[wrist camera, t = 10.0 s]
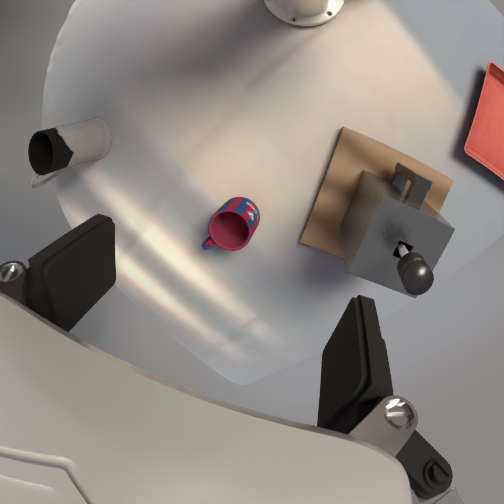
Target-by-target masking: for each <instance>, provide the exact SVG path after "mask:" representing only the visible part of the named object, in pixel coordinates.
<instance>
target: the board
mask: <svg viewBox="0 0 504 504" xmlns="http://www.w3.org/2000/svg"><path fill="white" fill-rule="evenodd" d="M397 162H398V163H400V164H403V165H405V166H407V167H409V168H411V169H412V170H414V171H416V172H417V173H419V174H420V175H422V176H424V177H425V178H427V179H428V180H430V181H431V182H433V183H432V185H431V187H430V190H429V191H428V192H427V194H426V196H425V198H424V201H425V202H427V203H428V204H429V205H430V206H431V207H432V208H433V209H434V210H435V211H436V212H437V213H439V211H440V209H441V207H442V205H443V203H444V201H445V198H446V196H447V194H448V192H449V189H450V187H451V185H452V182H453V180H452V179H450V178H448V177H447V176H445V175H443V174H441V173H440V172H438V171H436V170H434V169H432V168H431V167H429V166H427V165H425V164H423V163H421V162H419V161H417V160H415V159H414V158H412V157H410V156H408V155H406V154H404V153H402V152H400V151H397V150H395V149H393V148H391V147H389V146H387V145H385V144H383V143H380V142H378V141H376V140H374V139H371V138H369V137H367V136H365V135H362V134H360V133H357V132H355V131H353V130H350V129H348V128H345V127H343V128H342V131H341V134H340V137H339V139H338V142H337V145H336V148H335V150H334V153H333V156H332V159H331V161H330V164H329V167H328V169H327V172H326V175H325V177H324V180H323V183H322V185H321V188H320V191H319V193H318V196H317V198H316V201H315V204H314V206H313V209H312V211H311V214H310V216H309V219H308V221H307V224H306V227H305V229H304V232H303V234H302V237H301V239H300V243H303V244H306V245H309V246H311V247H314V248H317V249H319V250H322V251H325V252H327V253H330V254H333V255H335V256H338V257H341V258H343V259H345V255H344V249H343V243H342V237H341V232H340V225H341V222H342V220H343V218H344V215H345V213H346V211H347V208H348V206H349V204H350V201H351V199H352V196H353V194H354V191H355V189H356V187H357V184H358V182H359V179H360V177H361V174H362V172H363V170H365V171H368V172H370V173H372V174H375V175H377V176H379V177H381V178H384V179H386V180H388V181H391V179H392V177H393V174H394V172H395V166H396V164H397ZM410 184H411V181H409V180H408V181H407V183H406V185H405V189H407V190H408V189H409V186H410Z"/></svg>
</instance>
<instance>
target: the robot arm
mask: <svg viewBox="0 0 504 504" xmlns="http://www.w3.org/2000/svg"><path fill="white" fill-rule="evenodd" d="M264 2H265V4H266V6H267V7H268V9H269V10H270V12H271V13H272V14H273V15H274V16H276V17H277V18H279V19H280V20H282V21H284V22H287V23H289V24H293V25H297V26H316V25H321V24H324V23H326V22H328V21H330V20H332V19H333V18H335V17H336V16H337V15H338V14H339V13H340V11H341V9H342V7H343V5H344V0H270V1H268V0H264ZM328 14H330V15H331V16H328ZM294 19H295V20H296V21H293V20H294ZM28 261H29V265H30V267H29V268H28V269H26V266H25V264H23V263H22V262H19V261H9V262H6V263H3V264H2V265H0V504H464V503H463V501H462V499H461V498H460V496H459V494H458V492H457V490H456V488H453V489H451V487H450V484H451V482H452V470H451V467H450V465H449V464H448V462H447V461H446V460H445V459H444V458H443V457H442V456H441V455H440V454H439V453H438V452H437V451H436V450H435V449H434V448H433V447H432V446H431V445H430V444H429V443H428V442H427V441H426V440H425V439H424V438H423V437H422V436H421V435H420V434H419V433H418V432H417V431H416V430H415V429H416V427H417V425H418V414H417V411H416V409H415V407H414V406H413V405H412V403H411V402H410V401H408V400H407V399H405V398H404V397H401V396H398V395H393V388H392V381H391V374H390V368H389V362H388V356H387V350H386V344H385V341H384V339H382V337H381V332H380V327H379V321H378V316H377V311H376V307H375V302H374V299H371V298H368V297H364V296H361V295H358V296H357V298H354V297H353V298H352V299H351V300H350V302H349V304H348V306H347V308H346V310H345V312H344V313H343V315H342V317H341V319H340V321H339V323H338V325H337V327H336V328H335V330H334V332H333V334H332V336H331V337H330V339H329V341H328V343H327V344H326V346H325V348H324V351H323V354H322V368H321V384H320V398H319V410H318V421H317V427H316V426H312V425H308V424H303V423H299V422H295V421H291V420H287V419H283V418H279V417H276V416H272V415H268V414H265V413H261V412H257V411H254V410H251V409H247V408H244V407H240V406H237V405H234V404H231V403H228V402H225V401H222V400H219V399H215V398H213V397H210V396H207V395H204V394H201V393H199V392H196V391H193V390H190V389H188V388H185V387H183V386H180V385H177V384H175V383H172V382H169V381H167V380H165V379H162V378H160V377H158V376H155V375H153V374H151V373H148V372H146V371H143V370H142V369H139V368H137V367H135V366H132V365H131V364H128V363H126V362H124V361H122V360H120V359H118V358H116V357H114V356H112V355H110V354H108V353H106V352H104V351H102V350H100V349H98V348H96V347H94V346H92V345H90V344H88V343H86V342H85V341H83V340H81V339H79V338H77V337H76V336H74V335H72V334H70V333H68V332H69V331H70V330H71V329H72V328H73V327H74V326H75V324H76V323H77V322H78V321H79V320H80V319H81V318H82V317H83V316H84V315H85V314H86V313H87V312H88V311H89V310H90V309H91V308H92V307H93V305H94V304H95V303H96V302H97V301H98V300H99V299H100V298H101V297H102V296H103V295H104V294H105V293H106V292H107V291H108V290H109V289H110V288H111V287H112V286H113V285H114V283H115V281H116V266H115V224H114V223H113V222H112V219H111V218H110V217H107V216H104V215H101V214H97V215H95V216H93V217H92V218H90V219H89V220H87V221H85V222H84V223H82V224H80V225H79V226H77V227H76V228H74V229H73V230H71V231H70V232H68V233H67V234H65V235H63V236H62V237H60V238H59V239H57V240H56V241H54V242H53V243H51V244H50V245H48V246H47V247H46V248H44V249H43V250H41V251H40V252H38V253H37V254H36V255H34V256H33V257H31V258H30V259H29V260H28Z"/></svg>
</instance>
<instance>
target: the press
mask: <svg viewBox="0 0 504 504" xmlns="http://www.w3.org/2000/svg"><path fill="white" fill-rule="evenodd" d="M408 180H409V181H411V184H410V186H409V189H408V190H407V189H405V185H406V183H407V181H408ZM432 183H433V182H431V181H430V180H428V179H427V178H425V177H424V176H422V175H420V174H419V173H417V172H416V171H414V170H412V169H411V168H409V167H407V166H405V165H403V164H400V163H398V162H397V164H396V166H395V172H394V174H393V177H392V179H391V181H388V180H386V179H384V178H381V177H379V176H377V175H375V174H372V173H370V172H368V171H365V170H363V172H362V174H361V177H360V179H359V182H358V184H357V187H356V189H355V191H354V194H353V196H352V199H351V201H350V204H349V206H348V208H347V211H346V213H345V215H344V218H343V220H342V222H341V225H340V232H341V237H342V243H343V249H344V255H345V262H346V268H347V273H350V274H353V275H355V276H358V277H361V278H363V279H366V280H369V281H371V282H374V283H377V284H379V285H382V286H385V287H387V288H390V289H392V290H395V291H398V292H400V293H403V294H406V295H408V296H411V297H413V298H416V297H417V295H411V294H409V293H407V292H406V290H405V289H404V286H403V284H402V281H401V279H400V277H399V274H398V272H397V264H398V262H399V260H400V258H401V255H400V253H399V251H398V249H397V248H396V247H397V245H398V243H399V241H402V242H403V243H404V245H405V247H406V249H407V250H408V252H409V253H410V252H417V253H419V254H421V255H422V256H423V258H424V259H425V261H426V263H427V264H428V266H429V267H430V269H431V271H433V269H434V267H435V265H436V264H437V262H438V260H439V258H440V257H441V255H442V253H443V251H444V249H445V247H446V246H447V244H448V242H449V240H450V238H451V236H452V234H453V232H454V230H455V229H454V228H453V227H452V226H451V225H450V224H449V223H448V222H447V221H446V220H445V219H444V218H443V217H442V216H441V215H440V214H439V213H437V212H436V211H435V210H434V209H433V208H432V207H431V206H430V205H429V204H428V203H427V202H425V201H424V198H425V196H426V194H427V192H428V191H429V190H430V187H431V185H432Z"/></svg>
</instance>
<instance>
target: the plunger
mask: <svg viewBox="0 0 504 504" xmlns="http://www.w3.org/2000/svg"><path fill="white" fill-rule="evenodd" d="M396 248H397V249H398V251H399V253H400V255H401V258H400V260H399V262H398V264H397V272H398V274H399V277H400V279H401V281H402V284H403V286H404V289H405V290H406V292H407V293H409V294H411V295H421V294H423V293H425V292H426V291H428V290H429V288H430V287H431V286H432V283H433V280H434V276H433V273H432V271H431V269H430V267H429V266H428V264H427V263H426V261H425V259H424V258H423V256H422V255H421V254H419V253H417V252H410V253H409V252H408V250H407V249H406V247H405V245H404V243H403V242H402V241H399V243H398V245H397V247H396Z"/></svg>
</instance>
